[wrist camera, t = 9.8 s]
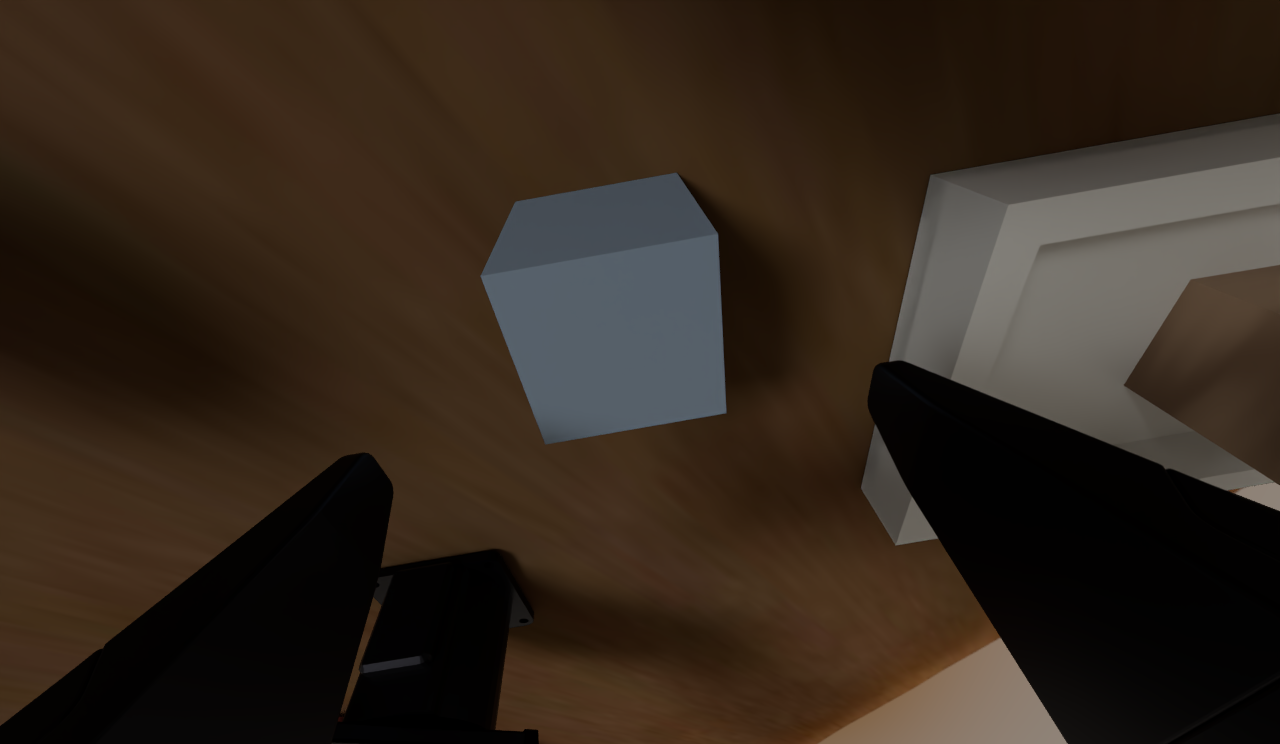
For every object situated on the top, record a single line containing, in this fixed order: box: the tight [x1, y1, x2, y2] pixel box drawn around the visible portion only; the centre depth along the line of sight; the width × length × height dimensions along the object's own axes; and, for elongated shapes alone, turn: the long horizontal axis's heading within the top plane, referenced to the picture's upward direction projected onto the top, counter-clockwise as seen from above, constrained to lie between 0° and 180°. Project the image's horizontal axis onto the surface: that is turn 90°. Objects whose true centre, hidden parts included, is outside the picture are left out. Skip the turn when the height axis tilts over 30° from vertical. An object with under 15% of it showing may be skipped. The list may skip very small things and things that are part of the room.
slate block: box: [481, 173, 726, 444], centre depth 12 cm, size 4×4×5 cm
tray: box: [861, 113, 1280, 545], centre depth 16 cm, size 14×17×3 cm
